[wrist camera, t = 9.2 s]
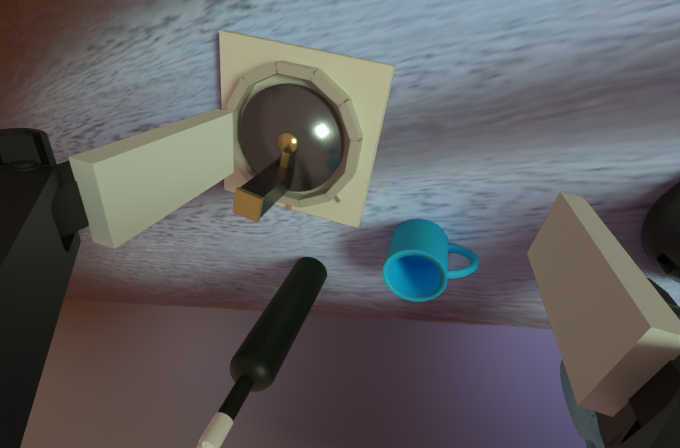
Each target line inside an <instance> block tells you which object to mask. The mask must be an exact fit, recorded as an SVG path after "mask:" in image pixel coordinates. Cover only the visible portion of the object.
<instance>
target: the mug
mask: <svg viewBox="0 0 680 448" xmlns="http://www.w3.org/2000/svg"><path fill="white" fill-rule="evenodd" d="M448 252H453V253H457V254H460V255H463V256H465V257H467V258H468V259H469V260H470V261H471V264H470V265H469V266H467V267H465V268H462V269H457V270H448ZM478 265H479V260H478V258H477V256H476V254H474V253H473V252H472V251H470V250H468V249H466V248H464V247H461V246H457V245H453V244H448V238H447V236H446V234H445V232H444V230H443V229H442V228H441V227H439V226H438V225H437V224H435V223H433V222H431V221H429V220H424V219H412V220H408V221H406V222H404V223H402V224H401V225H399V226H398V227H397V228H396V230H395V232H394V233H393V236H392V239H391V242H390V246H389V249H388V253H387V256H386V259H385V263H384V266H383V273H382V275H383V279H384V282H385V284H386V285H387V287H388V288H389V290H391V291H392V292H393V293H394V294H395V295H397V296H399V297H401V298H403V299H405V300H410V301H414V302H417V301H427V300H431V299H434V298H435V297H437V296H439V295H440V294H441V293H442V292H443V291H444V289H445V288H446V285H447V281H448V279H455V278H461V277H465V276H468V275H470V274H472V273H473V272H474V271H476V270H477V268H478Z"/></svg>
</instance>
